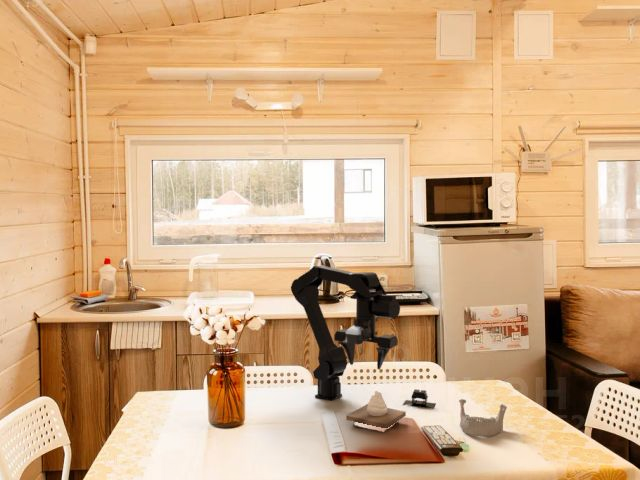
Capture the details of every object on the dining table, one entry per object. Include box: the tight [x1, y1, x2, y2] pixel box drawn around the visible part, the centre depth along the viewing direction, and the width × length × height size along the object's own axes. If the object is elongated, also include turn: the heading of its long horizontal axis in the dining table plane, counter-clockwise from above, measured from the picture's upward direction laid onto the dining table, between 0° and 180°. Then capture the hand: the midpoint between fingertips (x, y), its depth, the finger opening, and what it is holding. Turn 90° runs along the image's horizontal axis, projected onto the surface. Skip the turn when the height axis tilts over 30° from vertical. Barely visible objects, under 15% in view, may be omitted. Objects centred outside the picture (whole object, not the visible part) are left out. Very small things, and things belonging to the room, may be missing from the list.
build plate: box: [402, 388, 437, 409], centre depth 186 cm, size 12×7×5 cm, turn 71°
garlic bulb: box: [367, 390, 388, 416], centre depth 168 cm, size 6×6×5 cm
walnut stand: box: [345, 403, 407, 428], centre depth 168 cm, size 12×12×3 cm
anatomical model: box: [458, 398, 508, 438], centre depth 164 cm, size 13×11×10 cm
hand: (365, 366), depth 183 cm, fingers open, 9 cm apart
